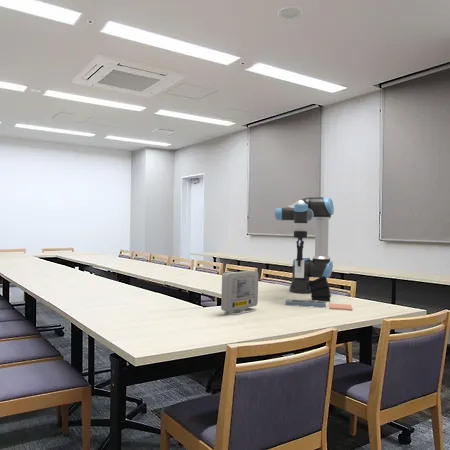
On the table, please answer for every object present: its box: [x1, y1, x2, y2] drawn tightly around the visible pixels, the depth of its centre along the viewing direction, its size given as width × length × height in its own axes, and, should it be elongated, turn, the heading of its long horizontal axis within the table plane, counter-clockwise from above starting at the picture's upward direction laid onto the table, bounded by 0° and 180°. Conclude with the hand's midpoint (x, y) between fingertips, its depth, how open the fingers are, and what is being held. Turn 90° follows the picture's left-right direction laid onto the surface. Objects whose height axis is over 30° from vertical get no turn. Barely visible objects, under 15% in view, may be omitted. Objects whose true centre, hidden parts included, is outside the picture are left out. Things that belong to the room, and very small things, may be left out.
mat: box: [328, 302, 353, 311], centre depth 238 cm, size 14×12×1 cm
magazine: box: [308, 276, 332, 302], centre depth 260 cm, size 4×13×15 cm, turn 66°
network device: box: [220, 270, 259, 316], centre depth 217 cm, size 26×9×20 cm, turn 141°
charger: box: [294, 258, 304, 278], centre depth 243 cm, size 4×5×10 cm
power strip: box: [284, 298, 327, 308], centre depth 242 cm, size 8×22×2 cm, turn 77°
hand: (299, 271), depth 243 cm, fingers closed on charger, 4 cm apart
